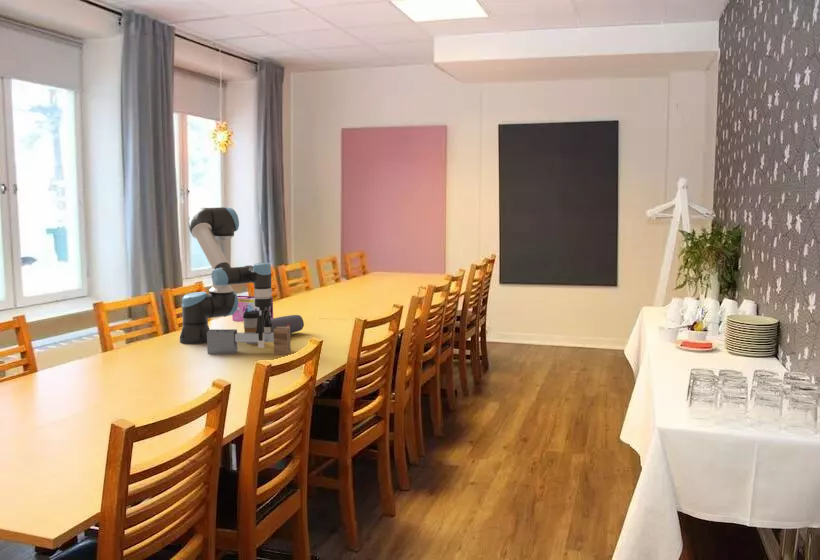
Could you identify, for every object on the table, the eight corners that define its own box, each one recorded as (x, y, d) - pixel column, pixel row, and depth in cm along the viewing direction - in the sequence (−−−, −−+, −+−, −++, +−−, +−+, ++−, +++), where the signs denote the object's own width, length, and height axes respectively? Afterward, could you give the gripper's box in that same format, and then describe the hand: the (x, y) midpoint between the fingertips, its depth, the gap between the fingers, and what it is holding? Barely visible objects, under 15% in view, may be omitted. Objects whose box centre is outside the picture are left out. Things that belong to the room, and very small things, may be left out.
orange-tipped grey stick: (229, 340, 328) (229, 332, 327) (284, 340, 327) (284, 332, 327) (227, 342, 324) (227, 334, 323) (283, 342, 324) (283, 333, 323)
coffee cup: (257, 345, 341) (256, 314, 339) (240, 344, 343) (239, 313, 341) (264, 342, 349) (263, 311, 348) (248, 341, 351) (247, 310, 349)
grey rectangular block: (211, 351, 329) (210, 329, 328) (237, 351, 329) (236, 329, 328) (207, 354, 323) (206, 332, 322) (234, 354, 323) (233, 332, 322)
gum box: (276, 321, 407) (275, 297, 405) (268, 323, 399) (267, 299, 398) (240, 318, 415) (239, 295, 414) (231, 321, 408) (231, 297, 406)
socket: (277, 350, 330) (276, 326, 329) (290, 350, 330) (290, 326, 329) (274, 354, 322) (273, 330, 321) (287, 354, 322) (286, 330, 321)
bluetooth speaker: (271, 341, 351) (270, 321, 350) (258, 339, 357) (257, 319, 356) (305, 334, 369) (304, 314, 368) (292, 331, 375) (291, 312, 374)
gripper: (265, 301, 311) (267, 350, 313) (276, 293, 336) (278, 338, 338) (248, 301, 311) (249, 350, 313) (260, 293, 336) (262, 338, 338)
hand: (264, 344), depth 326 cm, fingers open, 13 cm apart
